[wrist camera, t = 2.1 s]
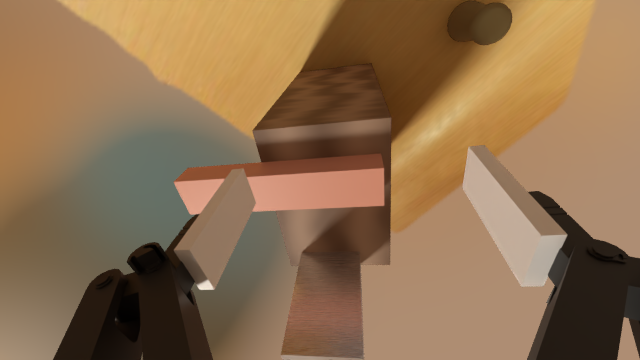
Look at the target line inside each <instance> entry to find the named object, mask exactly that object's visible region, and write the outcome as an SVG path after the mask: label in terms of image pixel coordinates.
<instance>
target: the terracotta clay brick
mask: <svg viewBox="0 0 640 360" xmlns="http://www.w3.org/2000/svg"><path fill="white" fill-rule="evenodd" d="M241 168H243V169H244V171H245V174H246V177H247V179H248V182H249V185H250V187H251V190H252V193H253V195H254V198H255V201H256V204H255V206H254V208H253V210H252V212H253V211H254V212H255V211H277V210H300V209H323V208H345V207H368V206H384V165H383V161H382V156H381V154H368V155H354V156H341V157H327V158H314V159H301V160H287V161H274V162H260V163H247V164H234V165H221V166H207V167H195V168H194V167H193V168H187V170H185V171H184V172H183V173H182V174H181V175H180V176H179V177H178V178H177V179H176V180H175V181H174V184H175V186H176V188H177V190H178V192H179V194H180V195H181V197H182V199H183V201H184V203H185V205H186V207H187V209H188V211H189V213H190V214H200V213H201V212H202V210H203V209H204V208H205V206H206V205H207V203H208V202H209V201H210V199H211V198H212V197H213V195H214V194H215V192H216V191H217V190H218V188H219V187H220V185H221V184H222V183H223V181H224V180H225V179H226V177H227V176H228V174H229V173H230V172H231V170H232V169H241Z"/></svg>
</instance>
